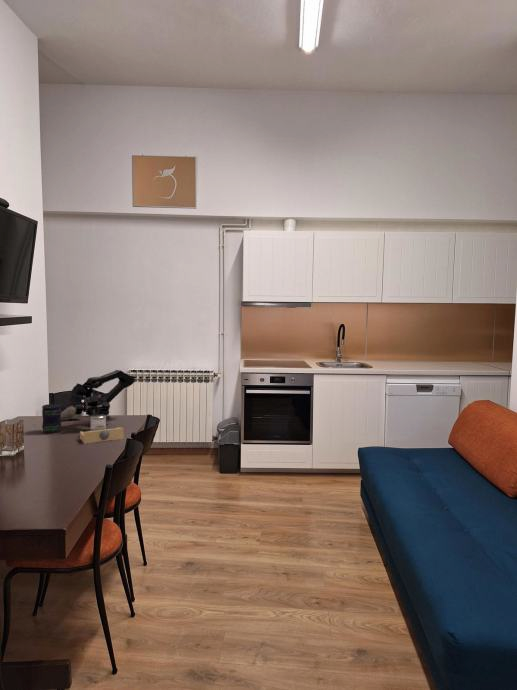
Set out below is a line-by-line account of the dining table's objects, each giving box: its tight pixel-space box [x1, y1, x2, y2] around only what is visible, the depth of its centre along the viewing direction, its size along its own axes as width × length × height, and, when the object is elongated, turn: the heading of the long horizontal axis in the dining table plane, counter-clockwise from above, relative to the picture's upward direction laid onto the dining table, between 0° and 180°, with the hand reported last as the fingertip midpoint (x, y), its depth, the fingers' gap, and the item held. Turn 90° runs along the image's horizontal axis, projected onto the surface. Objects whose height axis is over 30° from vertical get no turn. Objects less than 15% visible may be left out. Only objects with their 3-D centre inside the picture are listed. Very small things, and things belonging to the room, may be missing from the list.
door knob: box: [87, 414, 107, 432], centre depth 267 cm, size 14×14×11 cm
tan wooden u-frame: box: [79, 427, 125, 445], centre depth 260 cm, size 11×20×6 cm, turn 121°
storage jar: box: [41, 403, 62, 435], centre depth 272 cm, size 10×10×15 cm
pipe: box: [61, 405, 85, 422], centre depth 302 cm, size 16×9×15 cm
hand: (95, 421), depth 273 cm, fingers closed
